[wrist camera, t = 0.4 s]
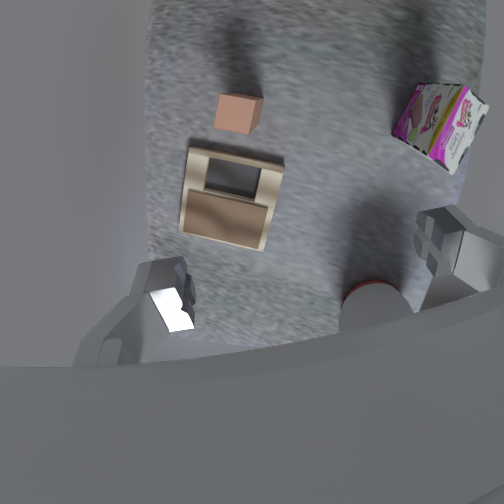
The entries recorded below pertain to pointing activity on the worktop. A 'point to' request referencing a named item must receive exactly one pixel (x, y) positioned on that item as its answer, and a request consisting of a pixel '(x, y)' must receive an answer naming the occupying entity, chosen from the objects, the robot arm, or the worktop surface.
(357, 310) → the citrus juicer
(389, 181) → the worktop surface
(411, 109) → the candy bar box
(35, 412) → the robot arm
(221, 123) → the terracotta block
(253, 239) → the hole board
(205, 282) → the worktop surface
